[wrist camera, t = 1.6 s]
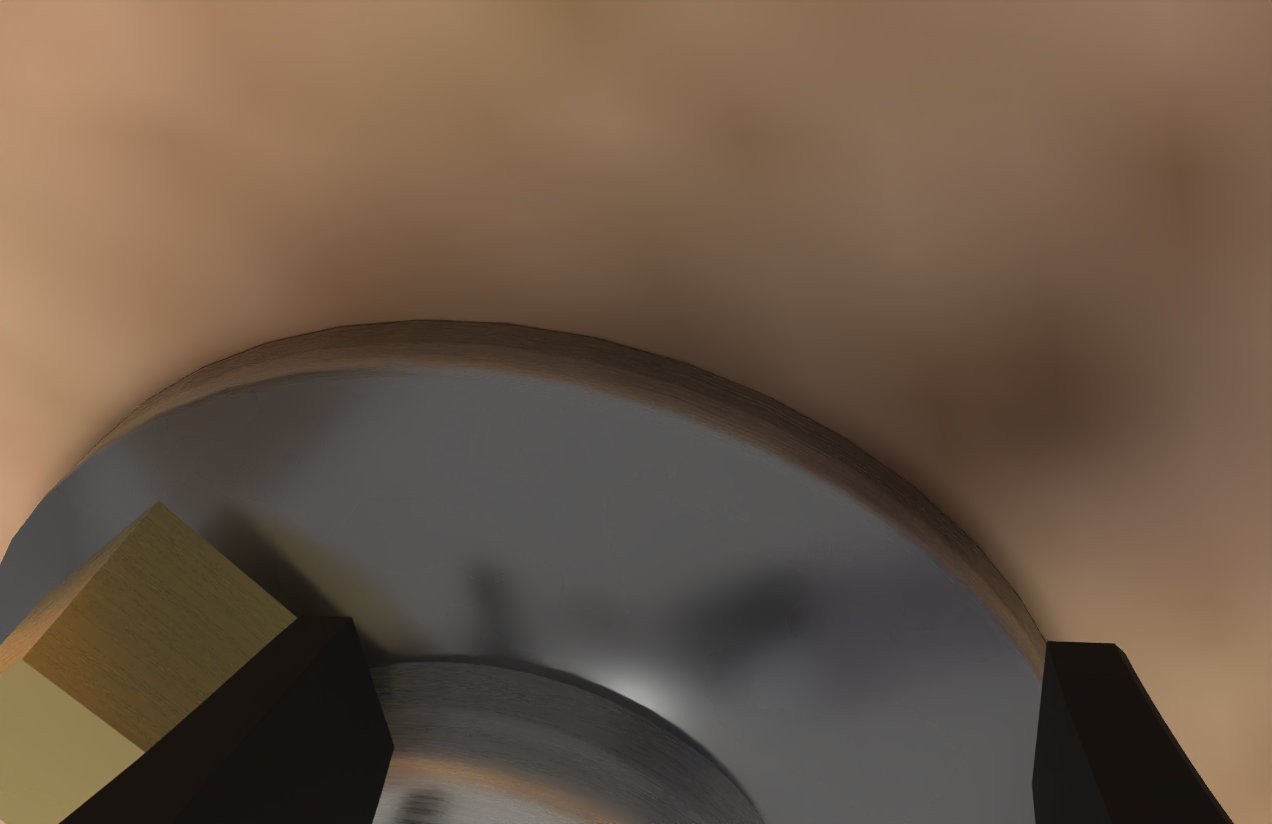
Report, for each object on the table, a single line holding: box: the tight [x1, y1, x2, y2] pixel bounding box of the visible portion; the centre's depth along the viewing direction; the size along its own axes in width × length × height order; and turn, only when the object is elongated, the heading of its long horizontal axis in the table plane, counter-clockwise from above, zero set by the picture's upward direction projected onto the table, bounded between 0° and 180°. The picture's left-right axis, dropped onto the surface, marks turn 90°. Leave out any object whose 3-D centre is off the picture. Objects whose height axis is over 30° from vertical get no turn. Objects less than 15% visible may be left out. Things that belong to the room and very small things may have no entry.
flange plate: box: [0, 321, 1046, 824], centre depth 19 cm, size 18×18×2 cm
